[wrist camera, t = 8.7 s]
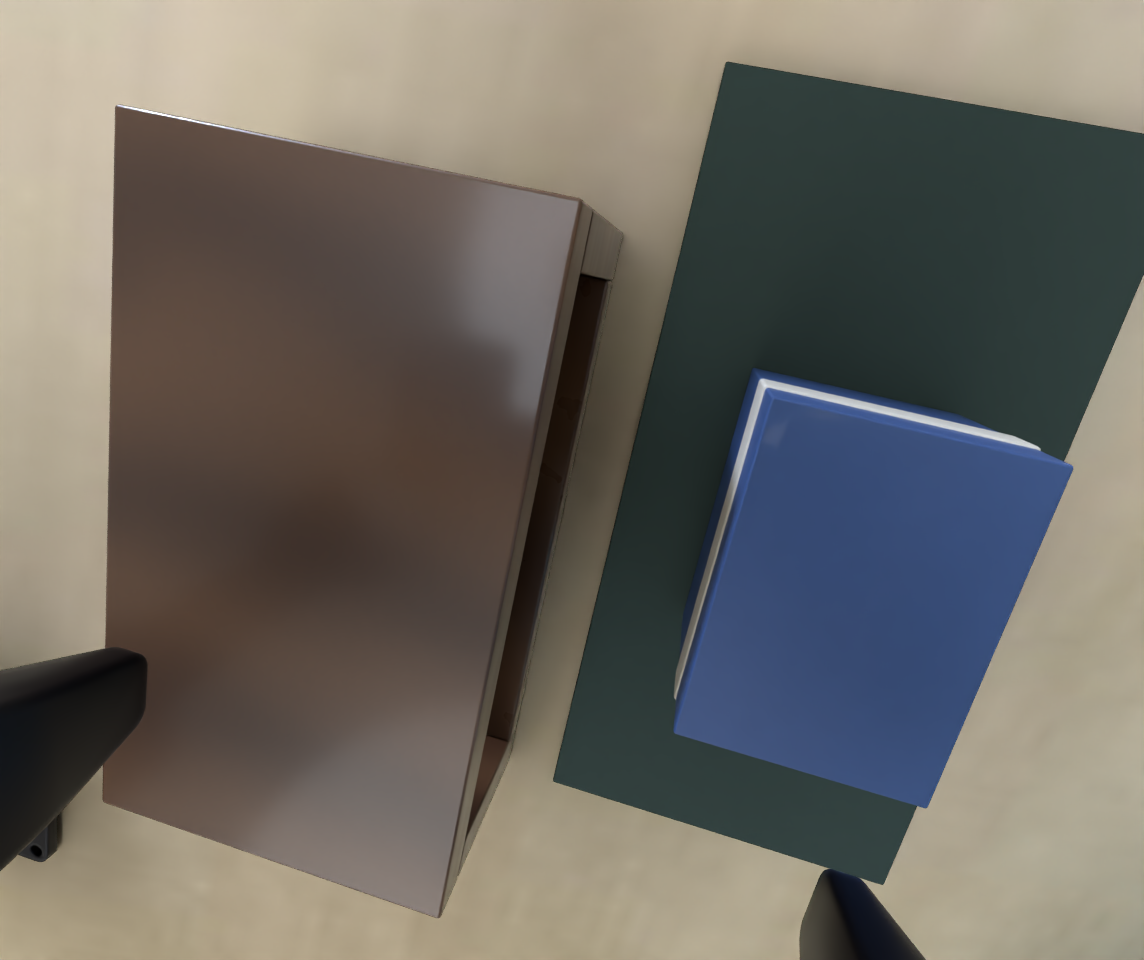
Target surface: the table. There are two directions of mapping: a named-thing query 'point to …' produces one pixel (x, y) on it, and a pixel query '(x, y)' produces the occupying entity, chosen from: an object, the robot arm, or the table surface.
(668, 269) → the table surface
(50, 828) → the robot arm
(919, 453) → the box
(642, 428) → the mat
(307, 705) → the shelf
